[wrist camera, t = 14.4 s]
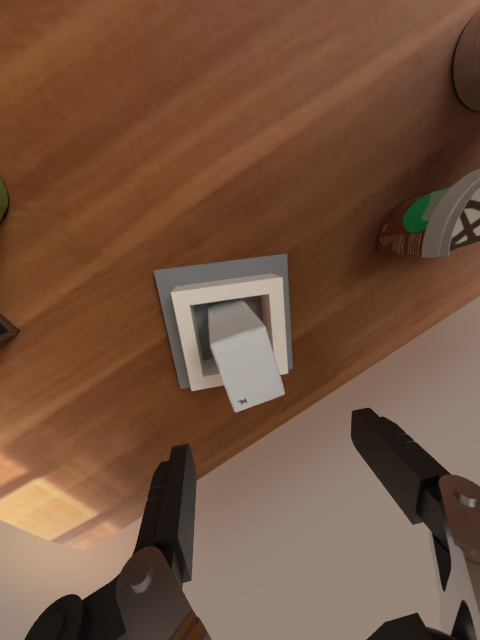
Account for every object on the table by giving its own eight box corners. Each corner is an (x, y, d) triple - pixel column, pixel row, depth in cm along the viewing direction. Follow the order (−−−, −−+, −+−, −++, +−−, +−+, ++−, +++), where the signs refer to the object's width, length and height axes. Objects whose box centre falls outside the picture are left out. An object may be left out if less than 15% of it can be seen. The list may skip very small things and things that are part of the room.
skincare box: (254, 339, 28) (287, 396, 17) (222, 350, 28) (233, 416, 17) (240, 293, 27) (267, 324, 15) (205, 305, 26) (206, 345, 15)
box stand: (282, 253, 27) (300, 253, 22) (288, 363, 32) (305, 385, 27) (156, 269, 26) (144, 273, 21) (181, 382, 30) (176, 410, 25)
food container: (452, 175, 28) (579, 136, 18) (451, 227, 30) (567, 216, 20) (359, 205, 27) (442, 180, 18) (365, 256, 29) (443, 258, 20)
